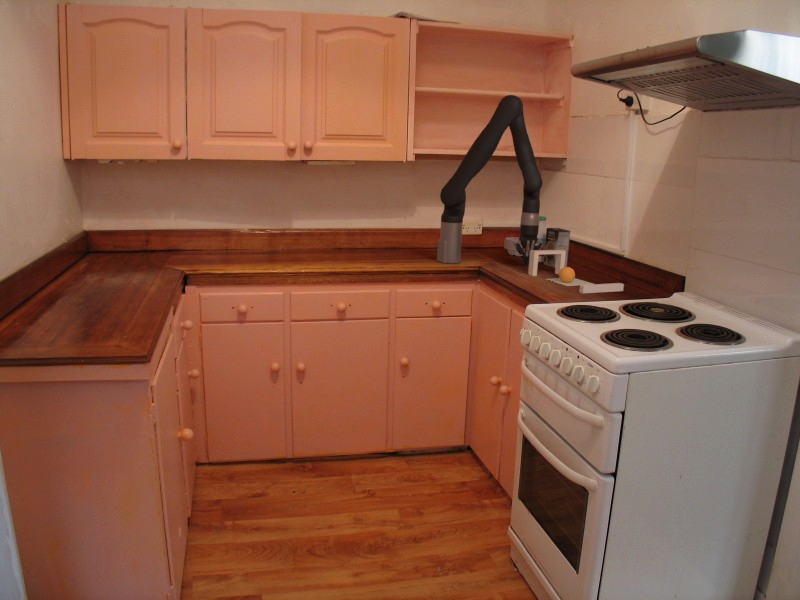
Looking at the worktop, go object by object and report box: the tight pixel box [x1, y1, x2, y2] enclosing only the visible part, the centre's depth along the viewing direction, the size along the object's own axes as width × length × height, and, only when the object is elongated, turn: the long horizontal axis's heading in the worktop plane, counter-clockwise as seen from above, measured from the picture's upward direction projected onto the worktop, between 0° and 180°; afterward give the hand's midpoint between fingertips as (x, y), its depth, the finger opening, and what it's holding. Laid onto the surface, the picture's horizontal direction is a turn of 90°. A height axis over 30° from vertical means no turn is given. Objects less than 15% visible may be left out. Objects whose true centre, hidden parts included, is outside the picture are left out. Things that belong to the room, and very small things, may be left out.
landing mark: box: [545, 277, 595, 287], centre depth 256 cm, size 13×13×1 cm
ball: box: [558, 266, 576, 283], centre depth 253 cm, size 6×6×6 cm
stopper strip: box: [578, 282, 625, 294], centre depth 239 cm, size 18×2×2 cm, turn 114°
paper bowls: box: [503, 236, 523, 257], centre depth 318 cm, size 15×15×8 cm
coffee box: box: [543, 227, 571, 269], centre depth 289 cm, size 9×6×16 cm
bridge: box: [527, 250, 566, 277], centre depth 268 cm, size 3×15×10 cm, turn 114°
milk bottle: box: [537, 215, 547, 263], centre depth 300 cm, size 8×8×20 cm
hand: (526, 265), depth 281 cm, fingers closed
